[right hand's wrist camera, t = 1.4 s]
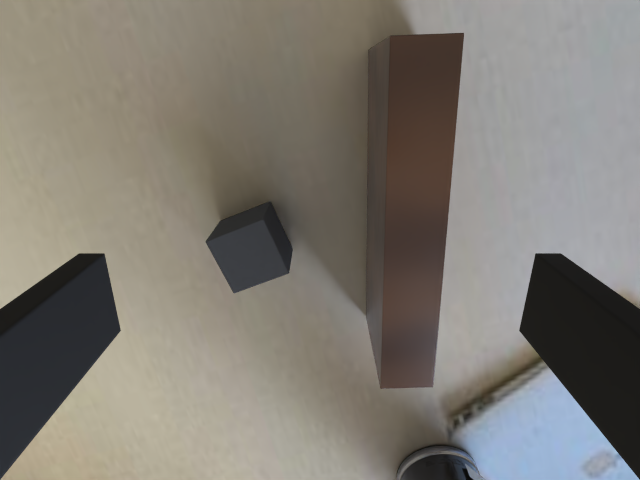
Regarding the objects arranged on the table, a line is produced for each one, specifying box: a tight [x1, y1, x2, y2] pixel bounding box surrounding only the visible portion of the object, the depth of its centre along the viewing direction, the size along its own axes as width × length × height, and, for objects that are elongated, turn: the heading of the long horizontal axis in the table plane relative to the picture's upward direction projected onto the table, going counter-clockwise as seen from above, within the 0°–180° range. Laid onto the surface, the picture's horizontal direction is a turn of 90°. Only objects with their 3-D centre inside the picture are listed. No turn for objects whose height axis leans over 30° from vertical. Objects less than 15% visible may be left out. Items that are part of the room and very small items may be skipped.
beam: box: [366, 33, 464, 389], centre depth 31 cm, size 24×4×10 cm, turn 2°
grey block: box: [206, 201, 293, 293], centre depth 34 cm, size 5×5×5 cm
